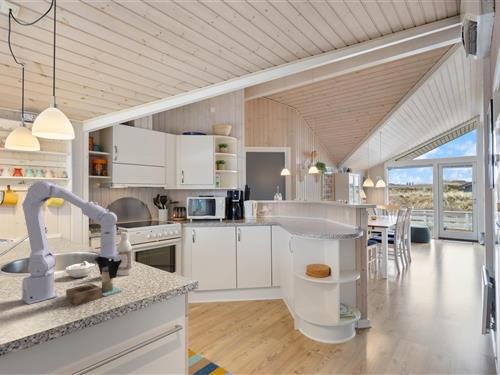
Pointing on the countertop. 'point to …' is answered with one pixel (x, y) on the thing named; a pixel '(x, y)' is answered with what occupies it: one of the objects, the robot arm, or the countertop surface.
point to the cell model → (80, 269)
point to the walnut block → (83, 293)
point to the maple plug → (106, 280)
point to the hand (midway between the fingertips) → (108, 276)
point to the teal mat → (111, 292)
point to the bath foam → (124, 255)
